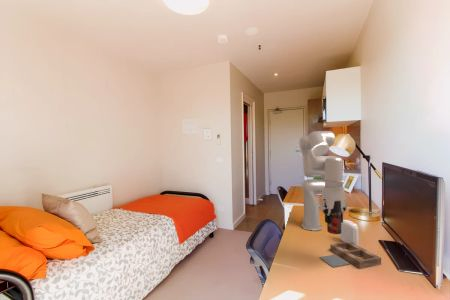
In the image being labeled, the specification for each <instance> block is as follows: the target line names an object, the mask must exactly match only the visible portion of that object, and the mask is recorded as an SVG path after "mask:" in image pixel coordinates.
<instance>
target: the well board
mask: <svg viewBox="0 0 450 300" xmlns="http://www.w3.org/2000/svg"><path fill="white" fill-rule="evenodd" d="M329 248H330V249H329V250H330V251H331V252H333V253H334V254H335V255H337V256H338V257H340V258H342V259H343V260H345V261H346V262H348V263H349V264H352V265H353V266H355V267H356V268H358V269H365V268H369V267H370V268H371V267H374V266H381V265H382V257H381V256H379V255H376V254H374V253H373V252H370V251H369V250H367V249H365V248H363V247H361V246H360V245H359V246H357V245H355V244H354V243H352V242H350V241H348V242H343V241H342V242H337V243H330V245H329ZM347 249H348V250H347ZM359 257H360V258H359ZM361 257H362V258H364V259H361Z"/></svg>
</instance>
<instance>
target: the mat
mask: <svg viewBox="0 0 450 300" xmlns="http://www.w3.org/2000/svg"><path fill="white" fill-rule="evenodd" d="M319 259H320V260H321V261H323V262H325V263H326V264H327V265H329V266H330V267H332V268H333V269H334V268H339V267H344V266H349V265H350V264H351V263H350V262H348V261H347V260H345V259H344V258H342V257H341V256H339V255H337V254H336V253H334V254H330V255H323V256H320V257H319Z"/></svg>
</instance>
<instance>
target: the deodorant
mask: <svg viewBox="0 0 450 300" xmlns="http://www.w3.org/2000/svg"><path fill="white" fill-rule="evenodd" d="M327 212H328V209H327ZM330 216H331V224H328V223H326V226H327V227H326V229H327V233H328V234H332V235H340V234H341V201H334V207H333V209H331V212H330Z"/></svg>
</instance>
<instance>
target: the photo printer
mask: <svg viewBox="0 0 450 300" xmlns="http://www.w3.org/2000/svg"><path fill="white" fill-rule="evenodd" d="M359 228H360V227H359V226H358V224H356V223H355V222H353V221H351V220H349V219H343V222H342V223H341V234H339V236H340V240H341V241H342V242H348V241H350V242H352V243H354V244H355V245H357V246H359V247H360V234H359V233H360V229H359Z"/></svg>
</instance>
